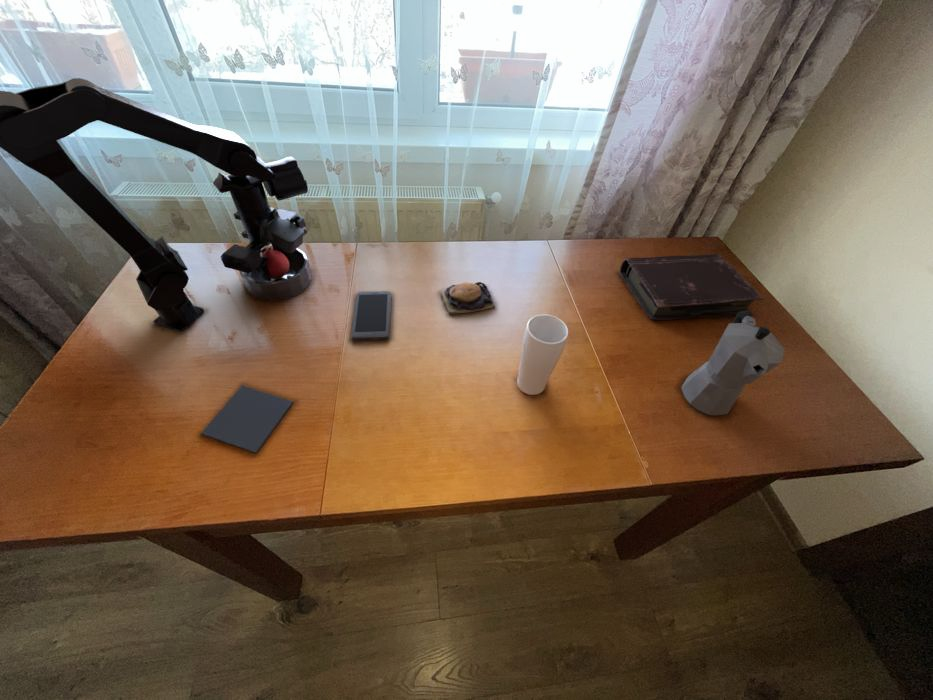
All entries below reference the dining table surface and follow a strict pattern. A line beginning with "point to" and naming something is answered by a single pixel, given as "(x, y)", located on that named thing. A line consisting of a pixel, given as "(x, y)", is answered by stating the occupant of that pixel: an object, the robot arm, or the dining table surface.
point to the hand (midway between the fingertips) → (277, 272)
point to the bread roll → (467, 298)
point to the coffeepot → (733, 365)
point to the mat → (248, 419)
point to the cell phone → (371, 315)
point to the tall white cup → (540, 352)
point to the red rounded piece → (276, 263)
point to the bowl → (287, 285)
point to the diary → (687, 286)
